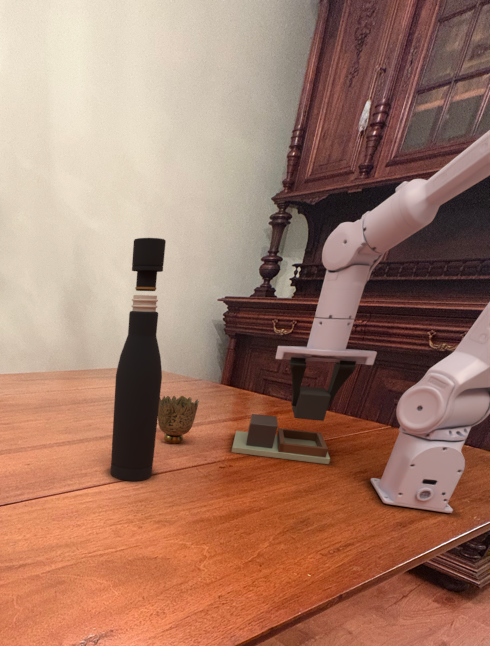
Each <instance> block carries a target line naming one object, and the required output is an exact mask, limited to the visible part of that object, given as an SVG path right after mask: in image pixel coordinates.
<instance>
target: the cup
mask: <svg viewBox="0 0 490 646" xmlns="http://www.w3.org/2000/svg"><path fill="white" fill-rule="evenodd" d="M192 400H193V399H192V397H190V396H189V397H186V396H184V395H181V396H179V397H176V396H175V395H173V396H172V398H171V397H170V395H167V396H165V395H163V397H162V399H161V398H160V400H159V410H158V419H157V425H158V427H159V429H160V431H161V432H162V433H163V434H164V435H163V439H164V442H166V443H168V444H171V445H175V444H176V445H177V444H180V443H182V442H183V440H184V435H186V434H188V433H189V432H190V430H191V429H192V427H193V425H194V422H195V418H196V414H197V410H198V407H199V403H200V400H199V399H198V398H197V399H195V401H192Z"/></svg>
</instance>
